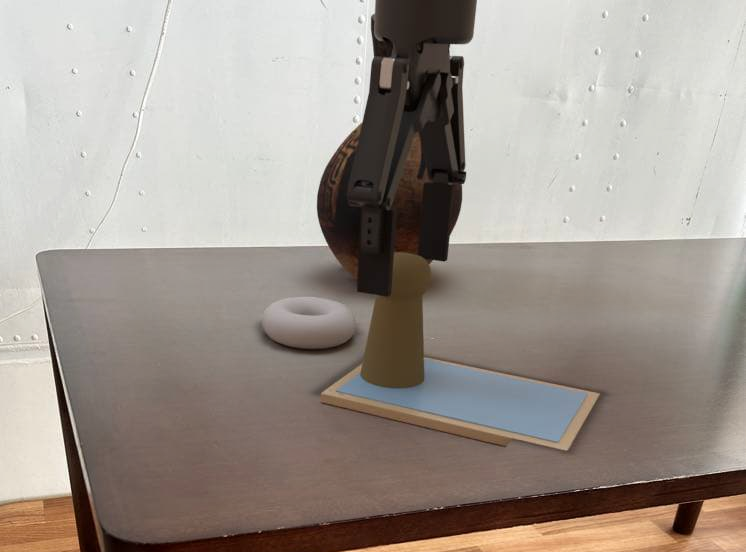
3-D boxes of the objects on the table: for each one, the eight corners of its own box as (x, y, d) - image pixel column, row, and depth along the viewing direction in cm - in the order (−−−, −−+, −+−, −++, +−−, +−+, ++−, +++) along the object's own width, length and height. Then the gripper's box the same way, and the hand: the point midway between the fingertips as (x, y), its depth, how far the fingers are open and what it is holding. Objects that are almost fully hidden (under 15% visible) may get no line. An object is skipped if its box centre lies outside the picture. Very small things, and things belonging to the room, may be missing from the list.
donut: (370, 335, 90) (290, 316, 93) (372, 303, 88) (291, 286, 91) (328, 362, 82) (243, 341, 85) (331, 328, 80) (243, 308, 83)
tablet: (598, 402, 76) (600, 392, 75) (565, 461, 65) (567, 449, 65) (382, 356, 84) (382, 347, 83) (320, 402, 73) (320, 391, 72)
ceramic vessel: (372, 254, 120) (388, 13, 104) (478, 276, 112) (513, 19, 96) (284, 281, 106) (287, 5, 89) (399, 310, 98) (425, 12, 81)
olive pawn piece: (347, 376, 75) (354, 254, 70) (382, 359, 80) (391, 243, 74) (403, 393, 73) (415, 267, 67) (436, 375, 77) (450, 255, 71)
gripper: (437, -12, 71) (416, 242, 82) (302, -33, 52) (299, 303, 63) (522, -10, 68) (488, 252, 79) (413, -31, 49) (389, 318, 60)
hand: (405, 275), depth 71 cm, fingers open, 13 cm apart
